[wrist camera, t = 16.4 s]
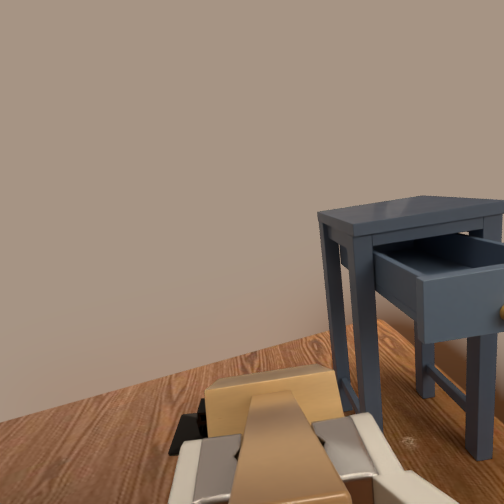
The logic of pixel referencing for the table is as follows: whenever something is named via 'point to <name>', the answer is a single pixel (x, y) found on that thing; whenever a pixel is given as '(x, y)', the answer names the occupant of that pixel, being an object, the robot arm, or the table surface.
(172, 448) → the black slotted stand
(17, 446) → the table surface
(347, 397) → the nightstand
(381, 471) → the robot arm
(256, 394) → the mallet
